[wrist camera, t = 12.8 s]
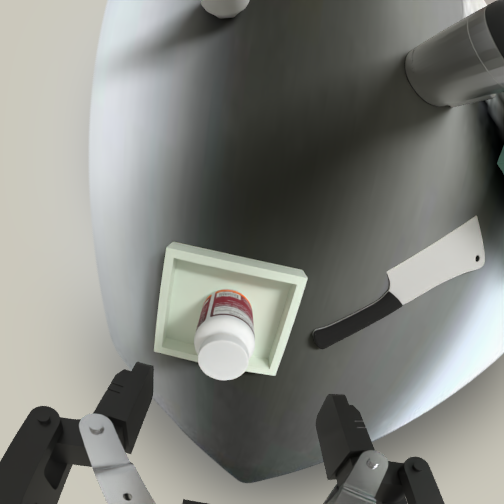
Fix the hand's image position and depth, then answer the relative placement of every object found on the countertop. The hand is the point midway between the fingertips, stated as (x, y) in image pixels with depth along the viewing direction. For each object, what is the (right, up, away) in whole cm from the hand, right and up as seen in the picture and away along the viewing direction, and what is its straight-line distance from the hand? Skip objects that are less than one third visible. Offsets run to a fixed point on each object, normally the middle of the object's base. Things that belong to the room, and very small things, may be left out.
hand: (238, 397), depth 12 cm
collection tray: (-3, -1, +25) cm, 25 cm away
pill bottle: (-2, -1, +24) cm, 24 cm away
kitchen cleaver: (+22, +3, +25) cm, 34 cm away
